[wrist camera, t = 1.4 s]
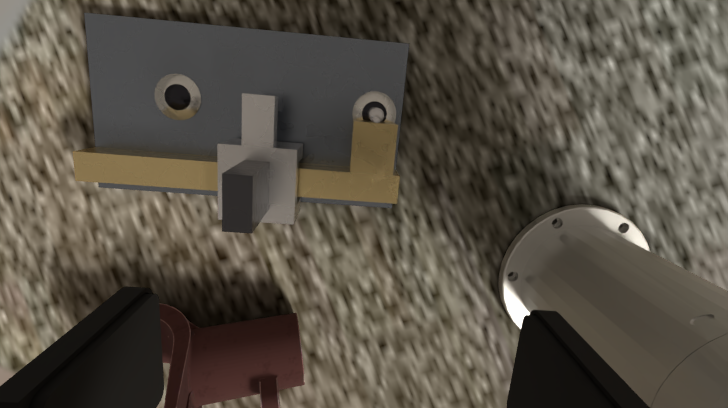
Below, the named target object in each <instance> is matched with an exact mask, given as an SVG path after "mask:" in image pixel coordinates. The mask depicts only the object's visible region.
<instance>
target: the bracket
mask: <svg viewBox="0 0 728 408" xmlns="http://www.w3.org/2000/svg"><path fill="white" fill-rule="evenodd" d="M159 306H160V324H161V342H162V360H163V363H170V370H169V377H168V384H167V391H166V398H165V405H164V408H202V405H206V404H211V403H216V402H221V401H226V400H231V399H236V398H241V397H246V396H251V395H256V394H260V401H261V408H280V402H279V390H281V389H286V388H291V387H296V386H301V385H304V384H305V382H304V368H303V357H302V348H301V340H300V332H299V325H298V318H297V313H291V314H285V315H279V316H272V317H266V318H260V319H253V320H247V321H241V322H234V323H228V324H222V325H215V326H209V327H203V328H198V327H197V326H195V325H194V324H192V323H191V322H189V321H188V320H187V319H186V317H185V316H184V315H183V314H182V313H181V312H180V311H179V310H177V309H176V308H174V307H172V306H169V305H166V304H161V303H159Z"/></svg>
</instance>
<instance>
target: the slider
mask: <svg viewBox="0 0 728 408" xmlns="http://www.w3.org/2000/svg"><path fill="white" fill-rule="evenodd" d="M277 115H278V96H270V95H258V94H247V93H242V139H240V138H232V139H229V140H226V141H223V142H221V143H218V144H217V158H218V219H221V220H222V231H224V232H239V233H253V231H254V230H255V228H256V227H257V226H258V224H259V223H260V222H265V223H280V224H294V223H295V221H296V218H297V216H298V214H299V211H300V203H301V197H297V188H298V165H299V161H300V160H301V159H302V157H303V143H290V142H278V141H277Z"/></svg>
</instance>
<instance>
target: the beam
mask: <svg viewBox="0 0 728 408" xmlns="http://www.w3.org/2000/svg"><path fill="white" fill-rule="evenodd" d="M368 118H369V119H370V120H371V121H367V120H356V119H353V130H352V143H351V156H350V166H337V165H324V164H311V163H299V165H298V188H297V197H309V198H323V199H336V200H350V201H364V202H378V203H392V204H397V198H398V189H399V180H400V176H399V174H398V173H397V171H396V170H393V169H394V159H395V150H396V140H397V130H398V125H397V124H396V123H392V122H381V121H382V120H383V118H384V112H383V111H382V110H381V109H380V108H377V107H372V108H370V109H369V111H368ZM73 159H74V169H75V179H76V181H86V182H100V183H114V184H128V185H142V186H156V187H170V188H183V189H197V190H211V191H218V158H217V156H207V155H194V154H181V153H168V152H155V151H142V150H129V149H116V148H103V147H92V148H87V149H82V150H77V151H73Z"/></svg>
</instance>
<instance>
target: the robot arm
mask: <svg viewBox="0 0 728 408" xmlns="http://www.w3.org/2000/svg"><path fill="white" fill-rule="evenodd" d="M553 220H554V222H553ZM510 272H511V273H510ZM509 273H510V274H509ZM499 293H500V298H501V302H502V304H503V306H504V309H505V311H506V313H507V314H508V315H509V317H510V318H511V320H512V321H513V322H514V324H515V325H516V326H517V327H518V328H519V329H520V330H521V332H520V337H519V342H518V347H517V353H516V358H515V363H514V368H513V374H512V379H511V384H510V390H509V395H508V400H507V408H728V291H727V290H725V289H723V288H721V287H719V286H717V285H715V284H713V283H711V282H709V281H707V280H705V279H703V278H701V277H699V276H697V275H695V274H693V273H691V272H689V271H687V270H685V269H683V268H681V267H679V266H677V265H676V264H674V263H672V262H670V261H668V260H666V259H664V258H662V257H660V256H658V255H656V254H654V253H652V252H650V249H649V246H648V242H647V241H646V239H645V237H644V235H643V234H642V232H641V231H640V230H639V228H638V227H637V226H636V225H635V224H634V223H633V222H632V221H630V220H629V219H627V218H626V217H624V216H623V215H621V214H619V213H617V212H615V211H612V210H610V209H607V208H604V207H600V206H597V205H586V204H578V205H569V206H564V207H561V208H558V209H554V210H551V211H549V212H547V213H545V214H543V215H541V216H539V217H538V218H536V219H535V220H534V221H532V222H531V223H530V224H528V225H527V226H526V227H525V228H524V229H523V230H522V231H521V232H520V233H519V234H518V235H517V236H516V237H515V239H514V240H513V242H512V243H511V245H510V246H509V248H508V249H507V251H506V254H505V256H504V258H503V260H502V264H501V268H500V272H499ZM163 390H164V378H163V360H162V342H161V324H160V306H159V297H158V295H156V294H153V293H152V291H151V289H150V288H139V287H123V288H122V289H120V290H119V291H118V292H117V293H115V294H114V295H113V296H112V297H110V298H109V299H108V300H107V301H105V302H104V303H103V304H102V305H100V306H99V307H98V308H97V309H96V310H94V311H93V312H92V313H91V314H89V315H88V316H87V317H86V318H84V319H83V320H82V321H81V322H79V323H78V324H77V325H76V326H74V327H73V328H72V329H71V330H69V331H68V332H67V333H66V334H65V335H63V336H62V337H61V338H60V339H58V340H57V341H56V342H55V343H53V344H52V345H51V346H50V347H48V348H47V349H46V350H45V351H43V352H42V353H41V354H40V355H38V356H37V357H36V358H35V359H33V360H32V361H31V362H30V363H29V364H27V365H26V366H25V367H24V368H22V369H21V370H20V371H19V372H17V373H16V374H15V375H14V376H13V377H11V378H10V379H9V380H7V381H6V382H5V383H4V384H3V385H1V386H0V408H156V407H157V406H158V404H159V402H160V401H161V398H162V395H163Z"/></svg>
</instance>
